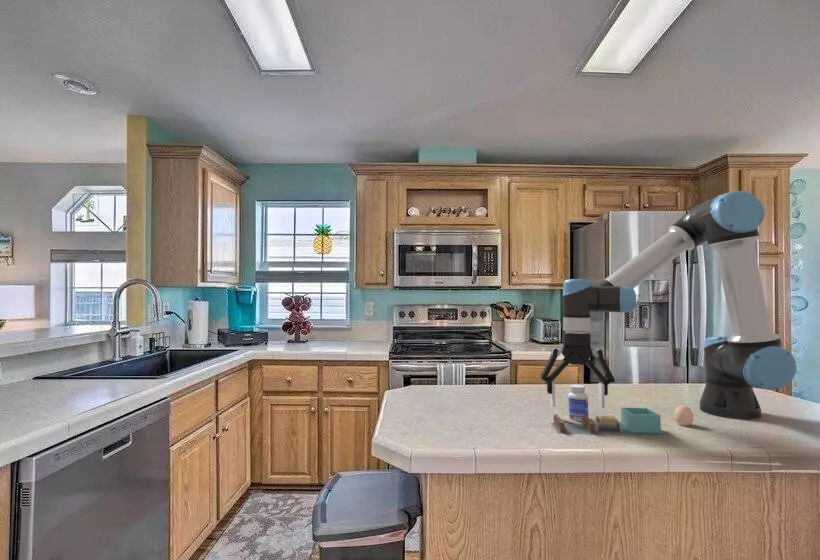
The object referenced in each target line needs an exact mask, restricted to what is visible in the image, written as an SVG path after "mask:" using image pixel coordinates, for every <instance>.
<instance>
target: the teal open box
mask: <svg viewBox="0 0 820 560" xmlns="http://www.w3.org/2000/svg"><path fill="white" fill-rule="evenodd" d="M620 418H621V419H620V422H622V423H623V428H625V429H626V430H627V431H628V432H630V433H631V434H641V435H661V434H662V429H661V428H662V426H661V425H662V424H661V423H662V422H661V420H662V419H661V414H659V413H658V412H656V411H654V410H652V409H650V408H648V407H623V406H622V407H620Z"/></svg>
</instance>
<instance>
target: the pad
mask: <svg viewBox="0 0 820 560" xmlns="http://www.w3.org/2000/svg"><path fill="white" fill-rule="evenodd" d="M595 420H596V421H597V422H598V423H599V424H617V417H615V416H613V415H611V416H610V415H596V416H595Z"/></svg>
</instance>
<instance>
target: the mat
mask: <svg viewBox="0 0 820 560" xmlns="http://www.w3.org/2000/svg"><path fill="white" fill-rule="evenodd" d="M550 424H551V426H552V428H553V429H554V430H555V431H556V433H557V434H562V435H563V434H567V435H595V436H596V435H597V436H599V435H601V436H630V437H631V436H632V437H633V436H634V437H636V436H637V437H638V436H639V437H662V438H664V437H666V436H665V435H663V434H662V433H661V435H641V434H631V433H630V432H628V431H627V430H626V429H625V428H623V432H607V431H595V434H591V433H590V432H589V431H588V430H587V429H586V428H585V427H584V426H583V425H582V423H567V422H566V423H565V422H564V424H565V433H560V431H559V430H558V429H557V427H556V426H555V425H554V422H550Z"/></svg>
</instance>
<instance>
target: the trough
mask: <svg viewBox="0 0 820 560" xmlns="http://www.w3.org/2000/svg"><path fill="white" fill-rule="evenodd" d="M588 417H589V416H588ZM588 417H587V416H586V415H582V421H581V424H582V425H583V426H584V427H585V428H586V429H587V430H588V431H589V432H590V433H591V434H590V435H593V434H595V424H594V423H593V422H592V421H591V418H588ZM553 423H554V425H555V426H556V427H557V429H558V430H559V431H560V433H565V424H564V423H565V422H564V421H563V420H562V418H561V417H560V416H559V415H558V414H553Z"/></svg>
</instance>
